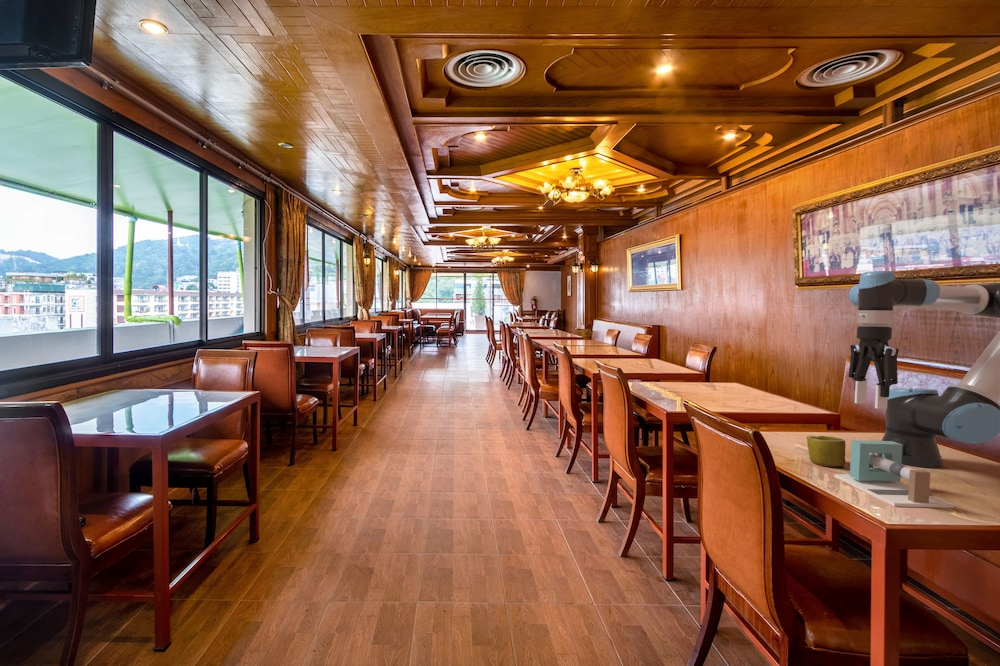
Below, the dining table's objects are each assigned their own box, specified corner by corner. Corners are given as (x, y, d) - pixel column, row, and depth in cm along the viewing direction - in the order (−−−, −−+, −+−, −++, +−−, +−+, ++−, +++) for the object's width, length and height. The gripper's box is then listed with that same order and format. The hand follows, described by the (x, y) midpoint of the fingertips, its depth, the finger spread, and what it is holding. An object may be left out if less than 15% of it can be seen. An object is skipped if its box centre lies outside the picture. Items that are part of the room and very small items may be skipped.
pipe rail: (834, 476, 122) (835, 448, 122) (884, 478, 122) (886, 449, 121) (894, 506, 103) (896, 472, 103) (954, 507, 103) (956, 474, 102)
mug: (861, 465, 126) (846, 431, 128) (823, 473, 128) (809, 439, 130) (840, 460, 138) (827, 429, 140) (805, 467, 140) (793, 437, 142)
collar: (849, 476, 118) (851, 440, 118) (890, 477, 118) (892, 441, 118) (858, 480, 115) (860, 443, 115) (900, 481, 115) (902, 444, 115)
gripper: (835, 324, 133) (831, 398, 134) (891, 326, 113) (886, 413, 114) (860, 325, 132) (856, 399, 133) (920, 326, 113) (915, 413, 114)
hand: (870, 405), depth 124 cm, fingers open, 6 cm apart
